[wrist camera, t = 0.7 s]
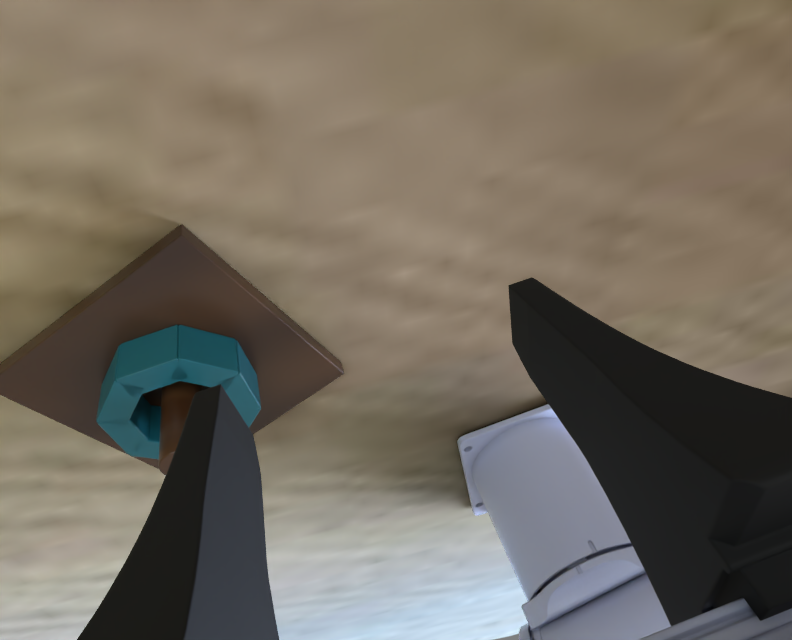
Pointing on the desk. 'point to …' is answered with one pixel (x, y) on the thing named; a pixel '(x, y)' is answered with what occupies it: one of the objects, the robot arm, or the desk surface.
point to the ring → (170, 382)
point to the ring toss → (156, 310)
